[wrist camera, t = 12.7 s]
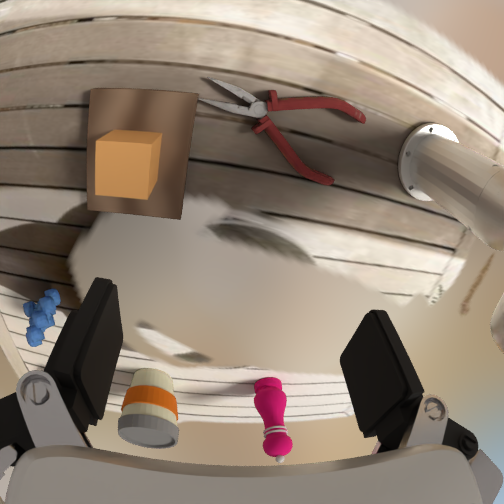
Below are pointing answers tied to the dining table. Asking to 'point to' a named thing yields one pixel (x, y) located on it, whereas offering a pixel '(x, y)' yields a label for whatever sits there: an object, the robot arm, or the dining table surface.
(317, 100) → the pliers
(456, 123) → the dining table surface
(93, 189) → the board
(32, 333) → the blue knobbed flower
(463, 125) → the dining table surface
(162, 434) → the reusable coffee cup
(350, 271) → the dining table surface
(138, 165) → the matte orange cube
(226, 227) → the dining table surface
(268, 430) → the pepper mill
